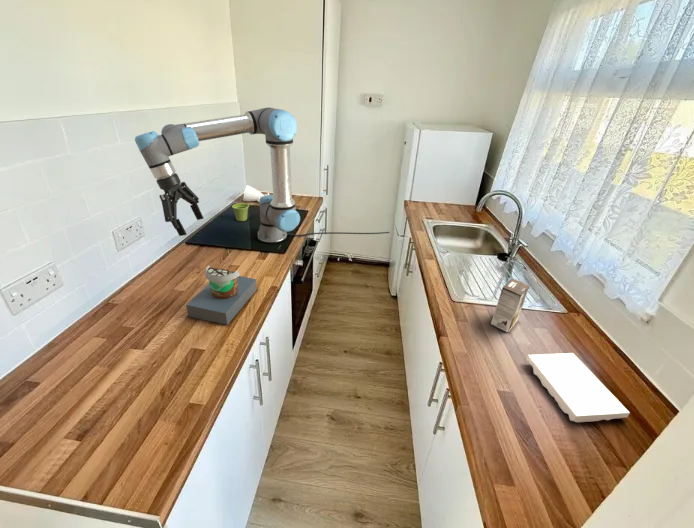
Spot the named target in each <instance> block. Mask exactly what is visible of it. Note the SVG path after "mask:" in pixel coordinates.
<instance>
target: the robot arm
mask: <svg viewBox="0 0 694 528" xmlns="http://www.w3.org/2000/svg"><path fill="white" fill-rule="evenodd" d="M297 131H298V123H297V120H296V118H295V117H294V115H293V114H292V113H290V112H289V111H286V110H284V109H281V108H275V107H263V108H258V109H254V110H253V109H252V110H250V111H244V114H239V115H231V116H225V117H218V118H212V119H204V120H199V121H191V122H185V123H179V124H172V123H169V124H164V126H163V127H162V128H161V131H160V134H158V133H157V131H155V130H152V131H149V132H144V133H141V134H138V135H136V136H135V137H134V142H135V144H136V147H137V148H138V151H139V153H140V154H141V156H142V158H143V159H144V161H145V163H146V165H147V167H148V168H149V170H150V172H151V174H152V176H153V177H154V179H155V180H156V181H155V182H156V184H157V185H158V187H159V189H160V190H162V191H163V192H164V193H163V194H159V199H160V202H161V206H162V211H163V217H164V222H165V223H169V222H170V223H171V225H172V226H173V228H174V230H176V232H177V234H178V236H179V237H182V236H187V231H186V229H185V228H184V226H183V224H182V222H181V219H180V218H178V217H177V216H178V212H177V211H178V209H177V207H178V206H177V205H178V202H179V200H180V199H182V200H184V201H185V202H187V203H188V204H190V209H191V210H192V213H193V214H194V217H195V219H196V221H199V220H204V215H203V214H202V212H201V209H200V207H199V203H200V198H199V196H198V195H196V193H195V192H193V190H191V188H190V187H189V186H188V185H187V183H186V181H181V179H180V177H179V175H178V173H176V168H175V166H174V165H173V163H172V161H171V159H170V157H171V156H174V155H178V154H180V153H181V154H182V153H184V152H187V151H190V150H193V149H195V148H197V147H199V145H200V142H203V141H208V140H209V141H210V140H215V139H221V138H226V137H232V136H238V135H243V134H249V135H264V136H265V145H267V146H268V147H269V155H270V156H269V157H270V171H271V184H272V185H271V186H272V194H269V195H264V196H262V197H261V198H260V200H259V202H258V205H259V218H260V219H259V221H260V225H259V228H258V231H257V240H258V241H259V242H261V243H262V244H263V243H264V244H271V245H272V244H279V243H282V242H285V241H286V240H287V238H288V235H289V236H295V237H305V236H311V235H329V234H330V235H333V234H334V235H341V234H342V235H384V234H390V231H381V232H346V231H345V232H344V231H343V232H342V231H341V232H339V231H338V232H337V231H336V232H335V231H330V232H329V231H328V232H323V231H322V232H309V233H303V234H295V233H292V231H294V230H295V229H296V228H297V227H298V226H299V224H300V222H301V216H300V213H299V212H298V211H297V210H296V201H295V200H294V199H293V192H292V191H293V190H292V173H291V172H292V171H291V170H292V169H291V166H292V165H291V146H292V145H293V144H294V138H295V136H296V135H297ZM290 232H291V233H290Z"/></svg>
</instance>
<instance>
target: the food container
mask: <svg viewBox="0 0 694 528" xmlns="http://www.w3.org/2000/svg"><path fill="white" fill-rule="evenodd" d="M238 276H240V272H239V270H238V269H237V270H235V271H232V270H228V269H224V268H215V267H211V266H210V264H209V265H207V266H206V268H205V278H206V279H207V280H208V285H209V284H210V287H211V291H212V295H213V296H214V297H215V298H217V299H228V298H231V297H233V296H235V295H236V294H237V293H238Z"/></svg>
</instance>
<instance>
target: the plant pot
mask: <svg viewBox="0 0 694 528" xmlns="http://www.w3.org/2000/svg"><path fill="white" fill-rule="evenodd" d="M231 207H232V209H233V212H234V215H235V219H236V221H237V222H245V221H247V220H248V213H249V207H250V204H248V203H244V202H240V203H234V204H232V206H231Z"/></svg>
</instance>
